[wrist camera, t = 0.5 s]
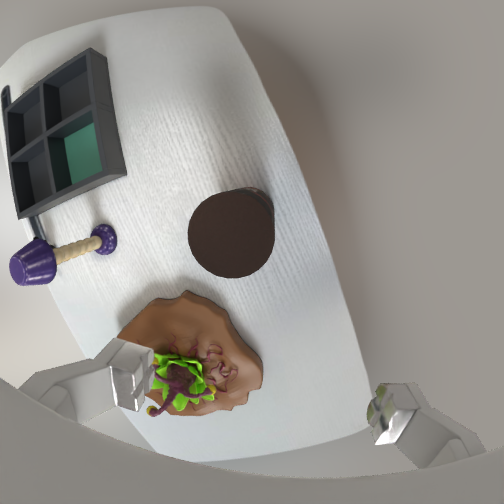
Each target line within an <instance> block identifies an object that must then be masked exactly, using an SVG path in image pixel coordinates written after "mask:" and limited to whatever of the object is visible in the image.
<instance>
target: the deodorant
mask: <svg viewBox="0 0 504 504" xmlns="http://www.w3.org/2000/svg"><path fill="white" fill-rule="evenodd" d="M274 242H275V224H274V206H273V203H272V201H271V200H270V198H269V196H268V195H266V194H265V193H264V192H263V191H261V190H259V189H256V188H252V187H248V188H240V189H235V190H230V191H225V192H221V193H218V194H215V195H212V196H210V197H209V198H207V199H206V200H204V201H203V202H201V204H200V205H199V206H198V207H197V208H196V209H195V211H194V213H193V215H192V217H191V219H190V221H189V227H188V243H189V246H190V249H191V252H192V254H193V256H194V257H195V259H196V260H197V262H198V263H199V264H200V265H201V266H202V267H203V268H205V269H206V270H207V271H209V272H211V273H212V274H214V275H216V276H220V277H224V278H241V277H245V276H249V275H251V274H252V273H254V272H256V271H257V270H259V269H260V268H261V267H262V266H263V265H264V264H265V263H266V262H267V260H268V258H269V256H270V255H271V253H272V250H273V246H274Z"/></svg>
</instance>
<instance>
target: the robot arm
mask: <svg viewBox="0 0 504 504" xmlns="http://www.w3.org/2000/svg"><path fill="white" fill-rule="evenodd" d="M154 359H155V356H154V350H153V349H151V348H148V347H144V346H141V345H138V344H135V343H132V342H127V341H125V340H122V339H119V338H113V339H112V340H111V341H110V342H109V343H108V344H107V345H106V346H105V347H104V349H103V350H102V351H101V352H100V353H99V354H98V355H97V356H96V357H95V358H94V359H90V358H89V359H86V360H82V361H79V362H75V363H71V364H67V365H64V366H59V367H56V368H52V369H48V370H43V371H40V372H36V373H35V374H33V375H32V376H31V377H30V378H29V379H28V380H27V381H26V382H25V383H24V384H23V385H22V386H21V387H20V388H19V389H16V388H15V387H13V386H11V385H10V384H9V383H7V382H5V381H4V380H3V379H1V378H0V504H504V446H502V447H499V448H496V449H494V450H491V451H488V452H487V451H486V450H485V448H484V446H483V444H482V443H481V441H480V440H479V438H478V436H477V435H476V433H474V432H472V431H471V430H469V429H467V428H466V427H464V426H463V425H461V424H459V423H458V422H456V421H454V420H453V419H451V418H450V417H448V416H446V415H445V414H443V413H441V412H440V411H438V410H437V409H435V408H431V407H430V405H429V403H428V401H427V400H426V398H425V396H424V395H423V393H422V391H421V390H420V388H419V387H418V385H417V384H416V383H403V384H389V383H388V384H387V383H381V384H380V385H379V386H378V388H377V390H376V391H375V392H376V395H377V396H376V397H375V398H374V399H372V400H371V401H370V404H369V406H368V409H367V420H368V424H370V425H371V426H372V427H373V430H372V431H371V433H372V436H373V439H374V442H375V444H394V445H395V446H397V448H398V449H400V451H402V453H404V454H405V455H406V456H407V457H408V458H409V459H410V460H411V461H412V462H413V463H414V464H415V465H416V466H417V467H418V468H419V469H418V470H412V471H406V472H399V473H392V474H383V475H373V476H361V477H339V478H308V477H286V476H273V475H263V474H255V473H246V472H240V471H233V470H227V469H221V468H216V467H211V466H206V465H201V464H197V463H192V462H188V461H184V460H180V459H176V458H173V457H169V456H165V455H162V454H159V453H155V452H152V451H148V450H146V449H142V448H140V447H136V446H133V445H131V444H128V443H125V442H122V441H120V440H117V439H114V438H112V437H110V436H107V435H105V434H102V433H100V432H97V431H95V430H92V429H90V428H88V427H86V426H84V425H82V423H85V422H87V421H89V420H90V419H92V418H94V417H97V416H98V415H100V414H102V413H104V412H106V411H108V410H110V409H112V408H114V407H115V406H116V405H117V406H120V407H123V408H126V409H130V410H133V411H136V412H139V410H140V408H141V406H142V404H143V403H144V401H145V395H144V394H147V393H149V392H150V390H151V388H152V386H153V382H154V378H155V368H154V367H153V365H152V362H153V361H154Z"/></svg>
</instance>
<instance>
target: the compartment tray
mask: <svg viewBox="0 0 504 504" xmlns="http://www.w3.org/2000/svg"><path fill="white" fill-rule="evenodd" d="M5 132H6V146H7V156H8V165H9V172H10V179H11V186H12V192H13V196H14V202H15V207H16V212H17V216H18V220H19V219H23V218H27V217H32V216H36V215H39V214H41V213H43V212H45V211H47V210H49V209H51V208H53V207H55V206H57V205H59V204H61V203H63V202H65V201H67V200H69V199H71V198H73V197H76V196H78V195H80V194H82V193H84V192H87V191H89V190H91V189H94V188H96V187H98V186H100V185H103V184H105V183H108V182H110V181H112V180H115V179H117V178H120V177H122V176H125V175H127V172H126V167H125V163H124V158H123V154H122V149H121V144H120V139H119V134H118V129H117V124H116V118H115V113H114V107H113V100H112V94H111V87H110V80H109V73H108V64H107V58H106V57H105V56H103V55H102V54H100V53H98V52H97V51H95V50H94V49H92V48H88V49H87V50H85V51H83V52H82V53H80V54H78V55H77V56H75V57H73V58H72V59H70V60H69V61H67V62H66V63H64V64H63V65H61V66H60V67H58V68H57V69H55V70H54V71H53V72H51V73H50V74H48V75H47V76H46V77H44V78H43V79H42V80H40V81H39V82H38V83H36V84H35V85H34V86H32V87H31V88H30V89H29V90H27V91H26V92H25V93H24V94H22V95H21V96H20V97H19V98H18V99H16V100H15V101H14V102H13V103H12V104H11V105H10V106H8V107H7V108H6V109H5Z"/></svg>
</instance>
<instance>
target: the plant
mask: <svg viewBox="0 0 504 504" xmlns="http://www.w3.org/2000/svg"><path fill="white" fill-rule="evenodd" d="M117 338H119V339H122V340H125V341H127V342H132V343H135V344H138V345H141V346H144V347H148V348H151V349H153V350H154V356H155V359H154V361H153V362H152V365H153V367H154V368H155V378H154V382H153V386H152V388H151V390H150V392H149V393H147V394H144V395H145V396H147V397H149V398H151V399H152V400H154V401H155V402H156V403H157V404H158V405H160V406H161V408H160V409H159V410H158V409H157V408H156V407H155V406H149V407H148V408H147V414H149V415H150V416H151V417H155V416H157V415H160V414H161V413H162V412H163V411H164V410H166V411H167V412H168V413H169V414H170V415H180V416H202V415H206V414H209V413H212V412H214V411H217V410H229V411H231V410H232V409H233V407H234V406H237V405H243V404H246V403H247V401H248V394H249V391H252V390H257V389H260V388H261V385H262V381H263V365H262V362H261V360H260V358H259V357H258V355H257V354H256V353H255V352H254V351H253V350H252V349H251V348H250V347H249V346H247V345H246V344H245V343H244V341H243V340H242V339H241V337H240V336H239V335H238V333H237V332H236V330H235V329H234V327H233V326H232V324H231V322H230V320H229V316H228V313H227V312H226V311H225V310H224V309H222V308H220V307H218V306H217V305H216V304H215V303H213V302H212V301H210V300H209V299H206V298H203V297H199V296H197V295H195V294H193V293H191V292H190V291H188V290H186V291H185V292H183V293H182V295H181V296H179V297H178V298H176V299H171V300H166V299H160V298H157V299H155V300H153V301H151V302H150V303H149V304H148V305H147V306H146V307H145V308H144V309H143V310H142V311H141V312H140V313H139V314H138V315H137V316H136V317H135V318H134V319H133V320H132V321H131V322H130V323H129V324H127V325H126V326H125V327H124V328H123V329H122V331H121V332H120V333H119V334H118V336H117Z"/></svg>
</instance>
